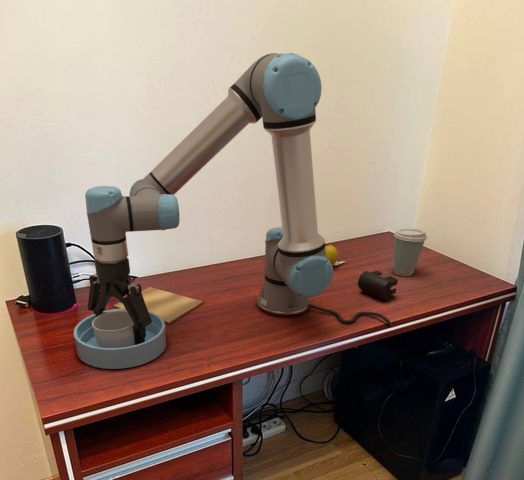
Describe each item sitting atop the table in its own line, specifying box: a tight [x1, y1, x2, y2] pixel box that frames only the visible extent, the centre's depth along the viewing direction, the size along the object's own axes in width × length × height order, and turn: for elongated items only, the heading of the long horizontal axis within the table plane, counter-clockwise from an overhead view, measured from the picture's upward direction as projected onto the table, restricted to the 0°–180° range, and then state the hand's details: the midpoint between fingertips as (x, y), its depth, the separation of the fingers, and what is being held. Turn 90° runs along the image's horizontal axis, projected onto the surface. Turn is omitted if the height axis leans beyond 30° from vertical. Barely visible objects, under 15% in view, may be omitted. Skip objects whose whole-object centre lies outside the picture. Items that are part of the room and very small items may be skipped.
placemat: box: [113, 286, 204, 325], centre depth 148 cm, size 20×16×1 cm
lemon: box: [325, 244, 339, 266], centre depth 176 cm, size 6×6×8 cm
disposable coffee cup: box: [392, 227, 428, 277], centre depth 172 cm, size 11×11×15 cm
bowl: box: [73, 308, 167, 370], centre depth 126 cm, size 21×21×6 cm
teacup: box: [92, 307, 135, 348], centre depth 125 cm, size 14×11×8 cm
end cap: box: [357, 270, 399, 302], centre depth 157 cm, size 10×7×7 cm
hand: (122, 343), depth 126 cm, fingers closed on teacup, 11 cm apart
